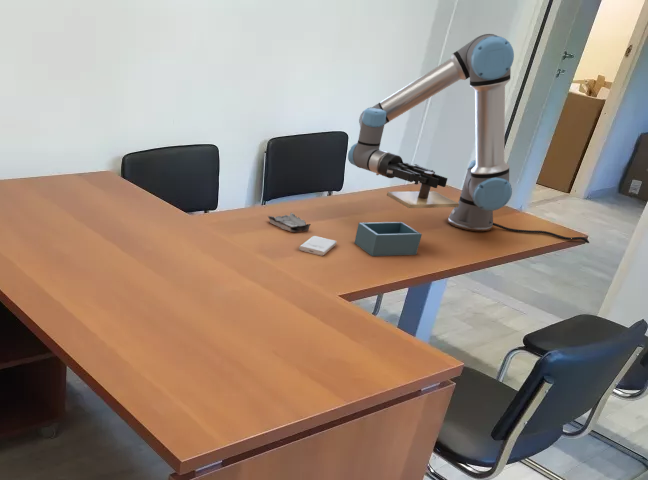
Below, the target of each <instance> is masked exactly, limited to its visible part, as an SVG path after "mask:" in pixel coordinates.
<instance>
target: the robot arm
mask: <svg viewBox="0 0 648 480" xmlns="http://www.w3.org/2000/svg"><path fill="white" fill-rule="evenodd" d="M514 59H515V52H514V48H513V46H512V44H511V42H510V41H508V39H506V38H504V37H502V36H499V35H496V34H493V33H484V34H481V35H478V36H477V37H475V38H474V39H472V40H470V41H469V42H467V43H466V44H465V45H463V46H462V47H460V48H459V49H458V50H456V51H455V52H453V53H451V55H450V58H449V59H448V60H446V61H444V62H443V63H440V64H439V65H437V66H436V67H435V68H433V69H432V70H430V71H428V72H427V73H424V74H423V75H421V76H420V77H418V78H416V79H415V80H413V81H412V82H410V83H408V84H407V85H406V86H404V87H402V88H401V89H399V90H397V91H396V92H394V93H392V94H391V95H389V96H388V97H386V98H385V99H383V100H381V101H380V102H378V103H376V104H375V105H373V106H370V107H366V108H365V109H364V110H363V111H362V112H361V113H360V115H359V119H358V124H359V128H360V129H359V134H358V139H357V142H356V143H354V144H352V145H351V147H350V149H349V150H348V152H347V153H348V154H347V160H348V162H349V164H351V165H353V166H355V167H357V168H358V169H362V170H366V171H369V172H371V173H375V175H376V176H379V175H380V176H382V177H385V178H387V179H393V178H397V179H400V180H404V181H407V182H409V183H413V182H414V185H419V184H421V183H422V184H425V185H428V186H431V188H434V189H438V186H439V187H443V188H446V186H447V181H448V177H446V176H442V175H439V174H436V171H435V170H433V169H428V168H426V167H423V166H420V165H419V164H418V163H415V164H410V163H408V162H404V161H403V158H402V157H401V156H400V155H398V154H395V153H392V152H390V151H386V150H383V149H380V146H381V143H382V142H381V141H382V137H383V133H384V129H385V125H386V124H388V123H391V121H393V120H395V119H396V118H399V117H400V116H402V115H403V114H405V113H406V112H408V111H409V110H411V109H413V108H415V107H417V106H418V105H420V104H421V103H423V102H425V101H427V100H428V99H430V98H432V97H434V96H435V95H436V94H439V93H441V92H443V90H445V89H447V88H449V87H450V86H451V85H453V84H455V83H456V82H458V81H461V80H462V81H463V80H464V81H466V80H468V79H469V87H470V88H472V89H473V90H474V105H475V107H474V108H475V109H474V111H475V113H474V115H475V116H474V117H475V119H474V120H475V125H474V127H475V159H474V160H471V161H470V163H469V166H468V167H467V171H466V174H465V178H464V182H463V185H462V188H461V192H460V195H459V198H458V201H457V203H459V207H453V208H452V210H451V212H450V214H449V216H448V219H447V223H448V224H449V225H450V226H452V227H455V228H457V229H461V230H464V231H470V232H477V233H478V232H480V233H481V232H482V233H483V232H490V231H491V230H492V229H493V226H494V227H497V228H500V229H502V230H505V231H509V232H514V233H525V234H544V235H549V236H552V237H555V238H558V239H561V240H567V241H577V240H581V241H584V242H585V243H586V244H590V241H589V240H588V238H586V237H583V236H575V237H573V236H571V237H568V236H563V235H560V234H557V233H554V232H550V231H546V230H532V229H531V230H530V229H529V230H528V229H516V228H511V227H507V226H504V225H501V224H498V223H496V222H494V211H497V210H500V209H502V208H503V207H505V206H506V205H507V204H508V203H509V201H510V200H511V197H512V194H513V188H512V184H511V182H510V165H509V163H506V161H505V137H506V136H505V132H506V131H505V129H506V128H505V127H506V126H505V125H506V118H505V117H506V111H505V110H506V85H507V84H508V83H509V82H510V81H511V73H512V71H511V69H512V65H513V62H514ZM425 171H430V172H433V173H434V176H433V177H431V176H428V175H425V174H424V172H425ZM571 238H572V239H571Z"/></svg>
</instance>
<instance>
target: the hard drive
mask: <svg viewBox="0 0 648 480" xmlns="http://www.w3.org/2000/svg"><path fill="white" fill-rule="evenodd" d="M337 243H338V242H337V240H335V239H330V238H327V237H326V238H325V237H321V236H318V235H312V236H311V237H310V238H308V239H307V240H306V241H304V242H303V243H302V244H300V245H299V247H298V250H299V251H300V252H305V253H308V254H309V253H310V254H313V255H317V256H321V257H323V256H324V255H326V254H327V253H328V252H329V251H330V250H332V249H333V248H334V247H335V246H336V245H337Z"/></svg>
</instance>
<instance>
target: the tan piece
mask: <svg viewBox="0 0 648 480" xmlns="http://www.w3.org/2000/svg"><path fill="white" fill-rule="evenodd" d="M424 174H425V175H428V176H431V177H433V176H434V173H433V172H430V171H425V172H424ZM431 188H432V187H431V186H428V185H425V184H422V183H420V187H419V191H417V190H415V191H414V190H413V191H411V190H410V191H387V193H386V196H387V197H388V198H390V199H392V200H394V201H395V202H397V203H399V204H401V205H403V206H404V207H406V208H408V209H442V208H455V207H459V203H458V201H455V200H453V199H451V198H449V197H447V196H446V195H444V194H441V193H440V192H438V191H436V190H431Z"/></svg>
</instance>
